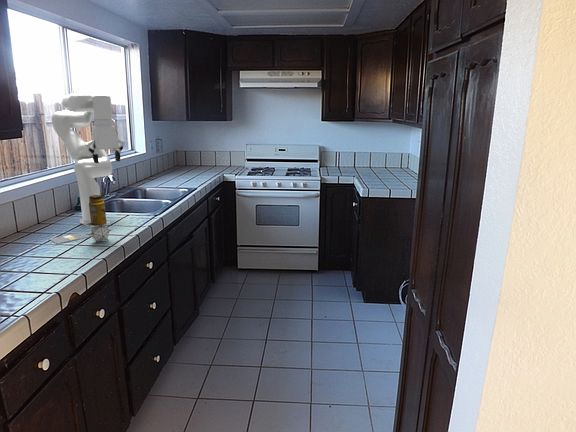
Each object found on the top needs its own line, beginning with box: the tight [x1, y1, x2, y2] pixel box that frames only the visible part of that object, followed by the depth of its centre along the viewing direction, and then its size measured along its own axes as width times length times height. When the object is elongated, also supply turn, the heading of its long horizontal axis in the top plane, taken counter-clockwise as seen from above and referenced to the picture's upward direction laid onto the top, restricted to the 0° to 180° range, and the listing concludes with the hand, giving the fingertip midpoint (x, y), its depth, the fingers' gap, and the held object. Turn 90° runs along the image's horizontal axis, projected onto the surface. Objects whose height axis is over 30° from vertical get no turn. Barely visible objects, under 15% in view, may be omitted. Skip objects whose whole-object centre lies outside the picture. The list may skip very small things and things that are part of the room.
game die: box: [88, 224, 112, 244], centre depth 181 cm, size 9×8×10 cm
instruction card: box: [48, 231, 92, 245], centre depth 186 cm, size 10×14×1 cm
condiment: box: [82, 194, 111, 228], centre depth 178 cm, size 7×8×12 cm
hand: (107, 162), depth 191 cm, fingers open, 9 cm apart
